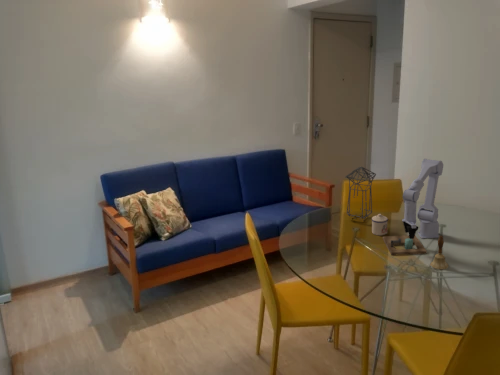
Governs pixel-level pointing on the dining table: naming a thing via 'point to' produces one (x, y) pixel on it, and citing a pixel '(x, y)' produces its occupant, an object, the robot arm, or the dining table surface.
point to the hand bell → (439, 257)
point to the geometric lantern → (361, 188)
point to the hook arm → (395, 241)
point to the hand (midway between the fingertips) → (409, 235)
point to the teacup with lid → (379, 225)
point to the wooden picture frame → (393, 251)
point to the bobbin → (408, 243)
